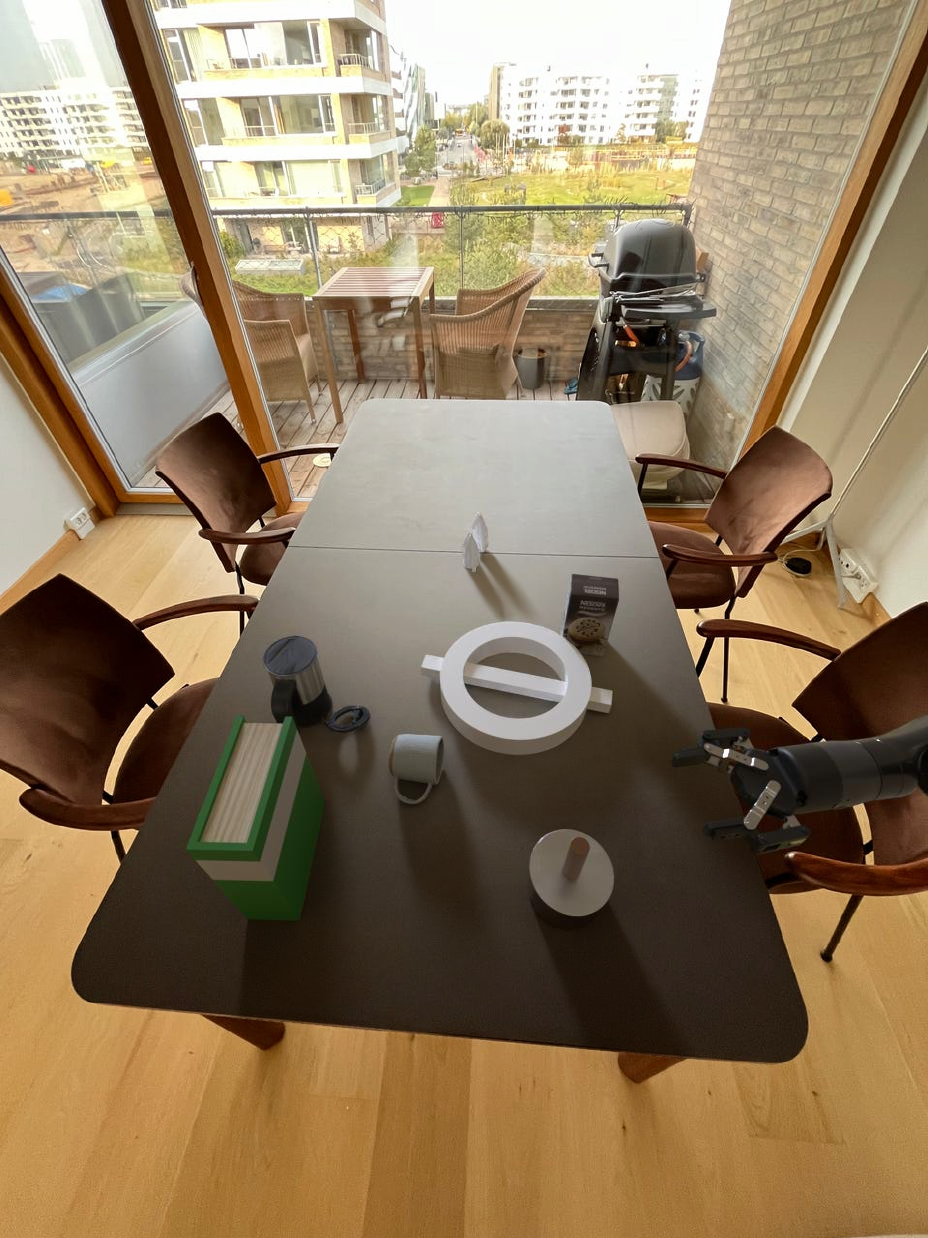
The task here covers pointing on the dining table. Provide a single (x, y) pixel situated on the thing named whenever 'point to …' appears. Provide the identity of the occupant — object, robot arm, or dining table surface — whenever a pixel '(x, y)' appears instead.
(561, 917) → the bowl
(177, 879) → the dining table surface
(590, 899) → the bowl lid
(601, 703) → the ring with crossbar
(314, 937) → the dining table surface
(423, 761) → the ceramic mug
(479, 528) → the shaker set
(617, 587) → the coffee box
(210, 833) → the hardback book
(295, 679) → the milk frother
